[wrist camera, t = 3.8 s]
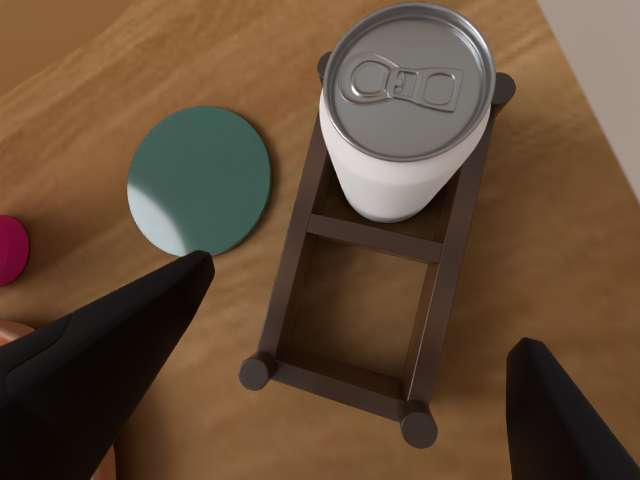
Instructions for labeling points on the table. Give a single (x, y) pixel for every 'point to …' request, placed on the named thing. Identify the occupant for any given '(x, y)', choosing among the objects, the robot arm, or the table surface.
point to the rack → (441, 254)
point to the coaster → (199, 181)
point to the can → (404, 105)
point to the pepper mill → (12, 249)
